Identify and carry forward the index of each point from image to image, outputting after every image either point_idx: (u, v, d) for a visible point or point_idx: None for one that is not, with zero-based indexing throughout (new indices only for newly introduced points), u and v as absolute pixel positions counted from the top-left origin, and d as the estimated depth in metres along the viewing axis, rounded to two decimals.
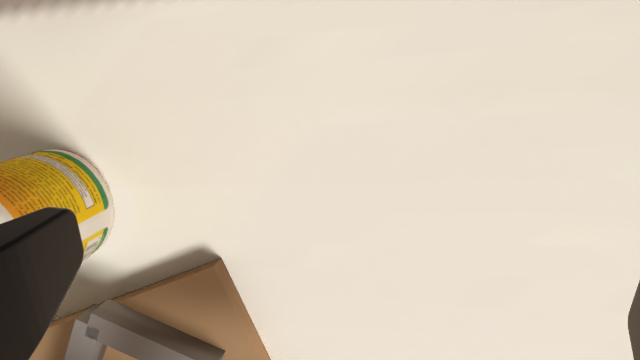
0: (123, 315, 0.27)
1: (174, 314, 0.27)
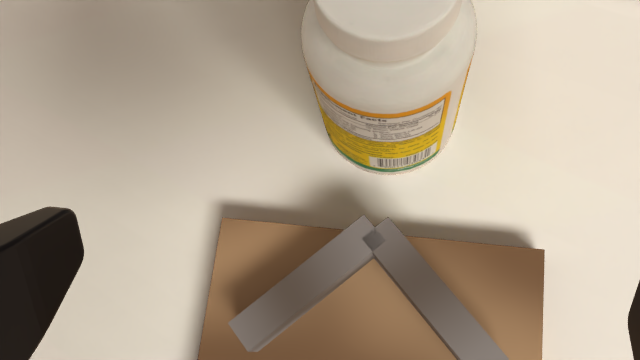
0: None
1: (460, 282, 0.21)
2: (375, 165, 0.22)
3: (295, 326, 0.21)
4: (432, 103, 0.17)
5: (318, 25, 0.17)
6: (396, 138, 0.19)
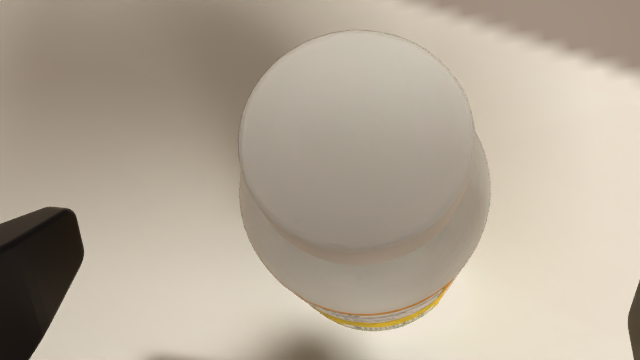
0: None
1: None
2: (352, 327, 0.17)
3: None
4: (427, 298, 0.12)
5: None
6: (377, 321, 0.14)
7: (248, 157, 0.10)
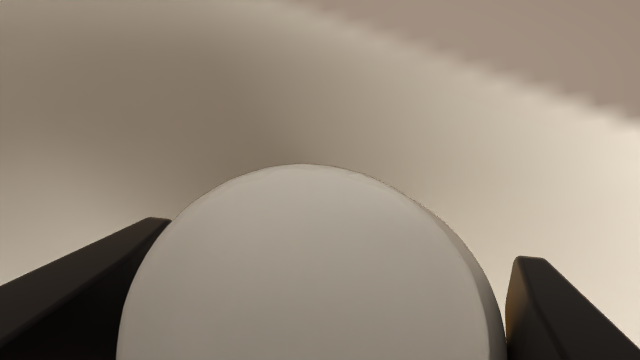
0: None
1: None
2: None
3: None
4: None
5: None
6: None
7: None
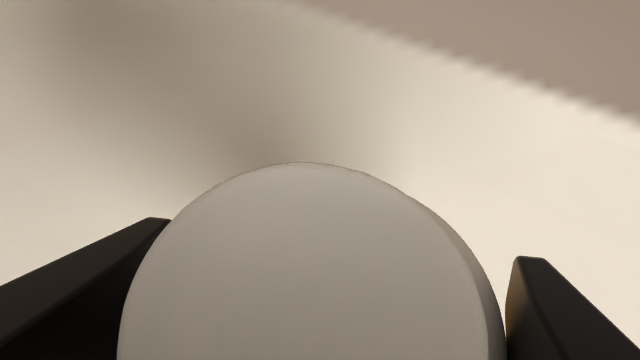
0: None
1: None
2: None
3: None
4: None
5: None
6: None
7: None
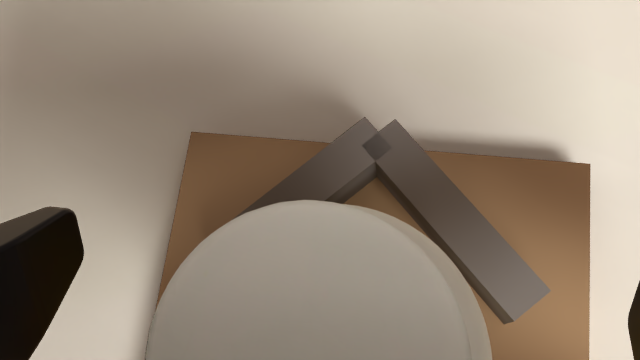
0: None
1: (484, 204, 0.17)
2: None
3: None
4: None
5: None
6: None
7: None
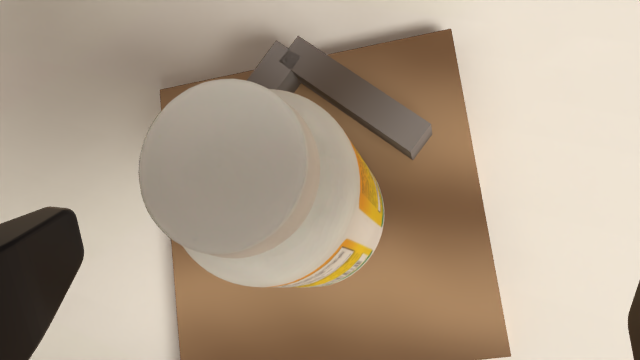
0: None
1: (381, 80, 0.22)
2: None
3: None
4: (329, 259, 0.15)
5: None
6: (311, 282, 0.17)
7: (150, 201, 0.13)
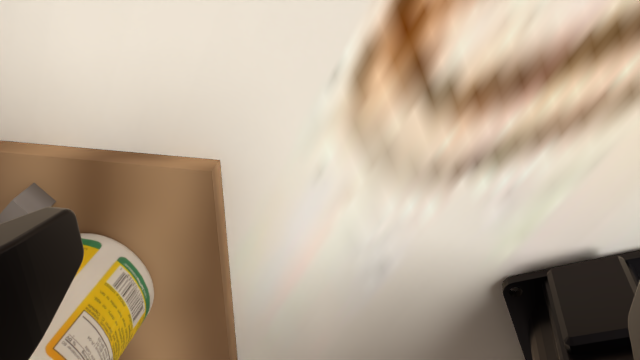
0: None
1: None
2: (142, 310, 0.26)
3: None
4: None
5: None
6: (104, 344, 0.23)
7: None
